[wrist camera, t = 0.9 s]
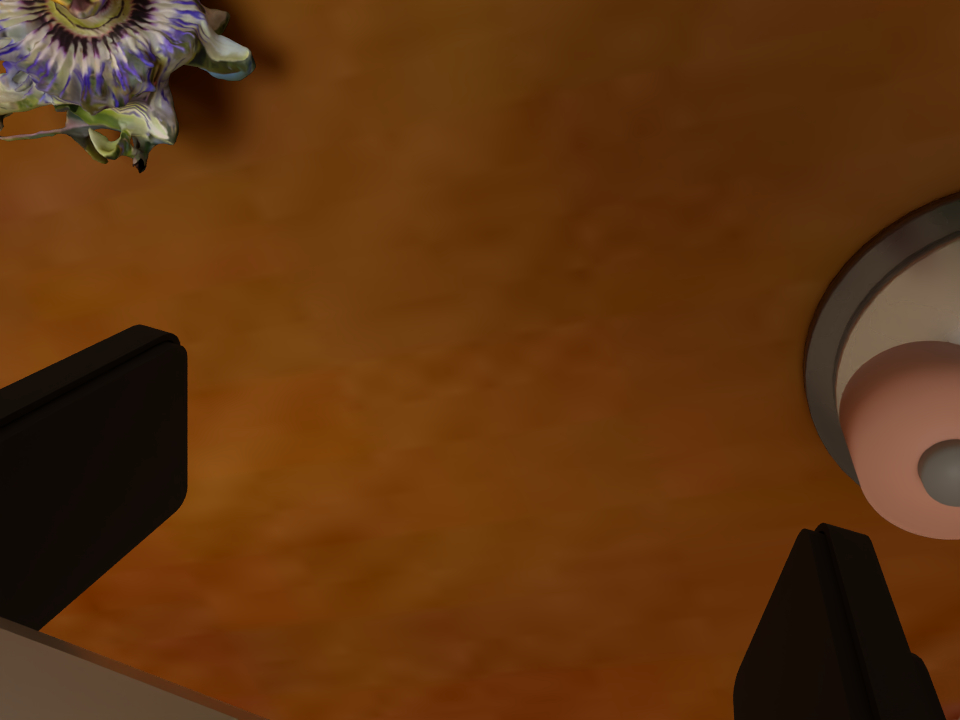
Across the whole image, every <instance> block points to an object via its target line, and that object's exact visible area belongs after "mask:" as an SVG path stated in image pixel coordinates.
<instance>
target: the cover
mask: <svg viewBox="0 0 960 720" xmlns="http://www.w3.org/2000/svg"><path fill="white" fill-rule="evenodd" d="M839 420H840V425H841V429H842V432H843V435H844V438H845V441H846V444H847V447H848V450H849V453H850V456H851V459H852V462H853V465H854V468H855V471H856V474H857V477H858V480H859V483H860V486H861V488H862V491H863V493H864V495H865V497H866V498H867V500H868V502H869V503H870V504H871V506H872V507H873V508H874V509H875V510H876V511H877V512H878V513H879V514H880V515H881V516H882V517H883V518H885V519H886V520H888V521H889V522H890V523H892V524H894V525H896V526H897V527H899V528H901V529H904V530H906V531H908V532H911V533H914V534H917V535H921V536H925V537H930V538H937V539H960V345H958V344H954V343H950V342H942V341H917V342H911V343H905V344H902V345H898V346H895V347H892V348H890V349H887V350H885V351H883V352H881V353H879V354H877V355H876V356H874V357H872V358H871V359H870V360H868V361H867V362H865V363H864V364H863V365H862V366H861V367H860V368H859V369H858V370H857V371H856V372H855V373H854V374H853V376H852V377H851V378H850V380H849V381H848V383H847V385H846V386H845V389H844V391H843V393H842V396H841V400H840V406H839Z"/></svg>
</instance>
